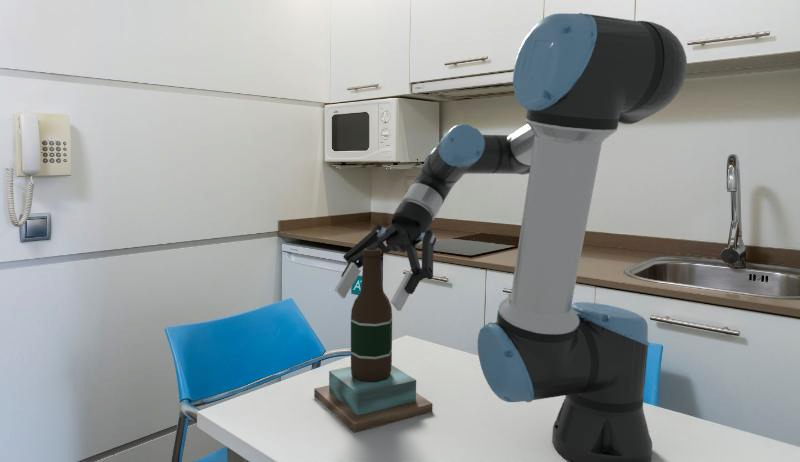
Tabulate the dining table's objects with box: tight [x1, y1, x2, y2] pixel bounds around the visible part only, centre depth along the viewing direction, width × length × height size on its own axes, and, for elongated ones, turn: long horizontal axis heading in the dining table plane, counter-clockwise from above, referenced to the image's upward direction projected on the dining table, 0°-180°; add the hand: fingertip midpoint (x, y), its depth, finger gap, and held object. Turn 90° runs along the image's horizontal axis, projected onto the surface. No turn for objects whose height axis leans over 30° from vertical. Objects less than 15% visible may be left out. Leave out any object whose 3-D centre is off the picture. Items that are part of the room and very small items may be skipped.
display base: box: [313, 364, 434, 433], centre depth 107 cm, size 17×16×6 cm
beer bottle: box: [350, 248, 393, 382], centre depth 105 cm, size 8×8×24 cm
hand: (366, 300), depth 103 cm, fingers open, 13 cm apart
